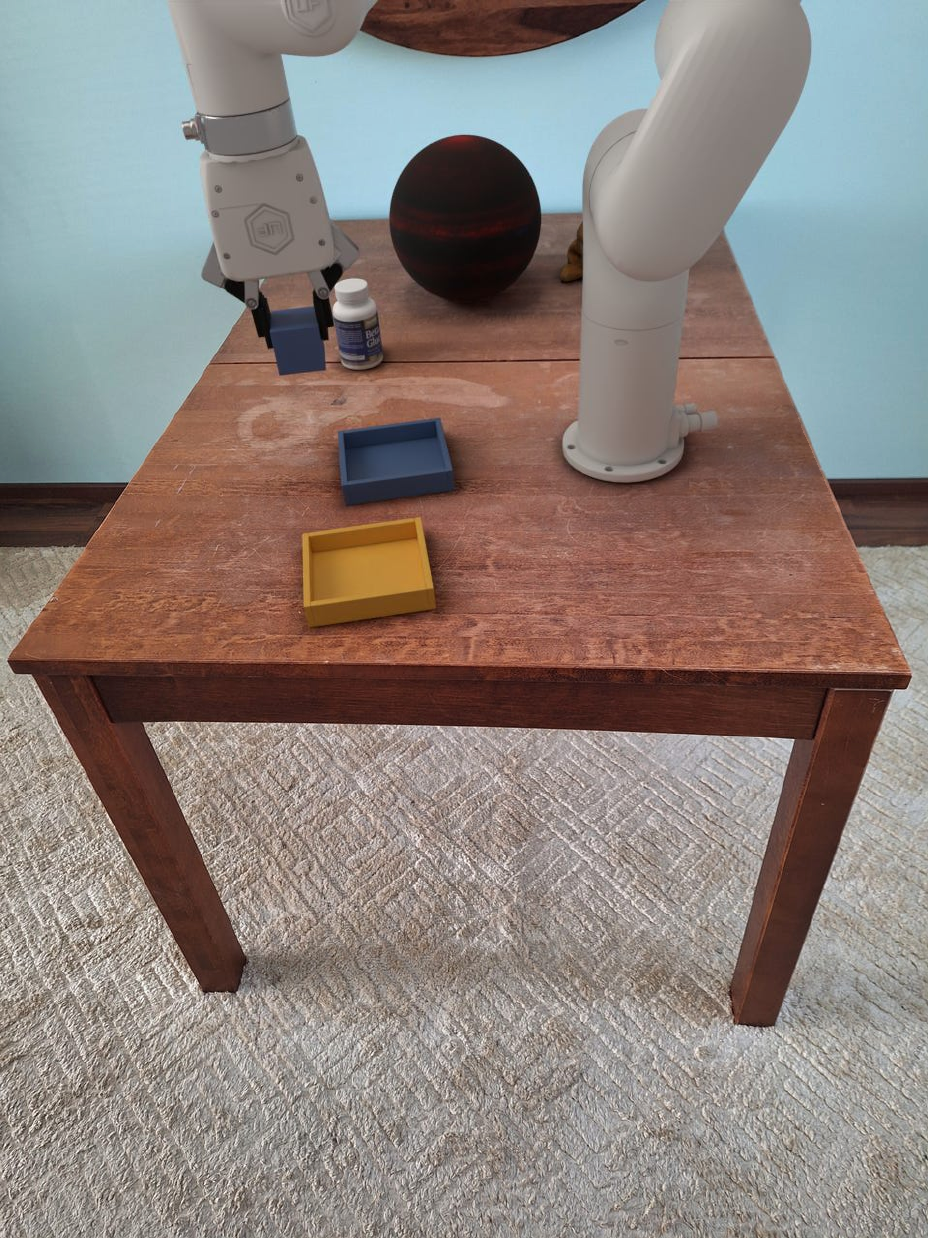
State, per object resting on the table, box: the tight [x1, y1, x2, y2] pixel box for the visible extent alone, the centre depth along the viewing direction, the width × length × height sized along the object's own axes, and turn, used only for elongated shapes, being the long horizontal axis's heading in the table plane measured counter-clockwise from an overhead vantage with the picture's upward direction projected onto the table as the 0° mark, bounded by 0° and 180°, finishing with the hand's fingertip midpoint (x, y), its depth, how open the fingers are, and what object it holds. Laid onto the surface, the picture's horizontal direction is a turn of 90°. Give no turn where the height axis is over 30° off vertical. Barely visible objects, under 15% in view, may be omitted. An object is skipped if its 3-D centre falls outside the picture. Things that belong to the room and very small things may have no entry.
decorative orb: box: [388, 134, 542, 303], centre depth 114 cm, size 20×20×20 cm
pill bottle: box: [332, 278, 384, 371], centre depth 106 cm, size 5×5×10 cm
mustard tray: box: [301, 516, 437, 628], centre depth 78 cm, size 11×10×2 cm
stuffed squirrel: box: [559, 220, 583, 283], centre depth 120 cm, size 10×14×13 cm
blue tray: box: [337, 417, 456, 506], centre depth 91 cm, size 11×10×2 cm
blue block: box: [270, 305, 327, 376], centre depth 83 cm, size 4×4×4 cm
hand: (298, 336), depth 83 cm, fingers closed on blue block, 4 cm apart
